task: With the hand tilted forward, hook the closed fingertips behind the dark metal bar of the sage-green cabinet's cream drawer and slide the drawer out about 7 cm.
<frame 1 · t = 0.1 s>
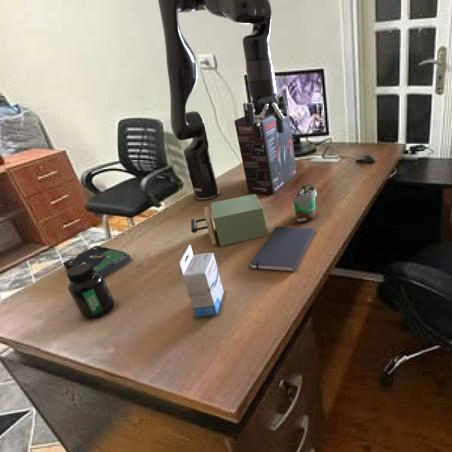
hand: (270, 136, 104), 29 cm above the table, tool pointing down, fingers open, 8 cm apart
notebook: (284, 249, 103), on the table
supplement bottle: (99, 311, 84), on the table
drawer: (222, 222, 111), point 5 cm above the table, slide at 1.0 cm
disk drive: (100, 266, 102), on the table
food container: (309, 217, 121), on the table
cabinet: (241, 232, 114), on the table
headset box: (273, 183, 152), on the table
ink box: (211, 305, 83), on the table
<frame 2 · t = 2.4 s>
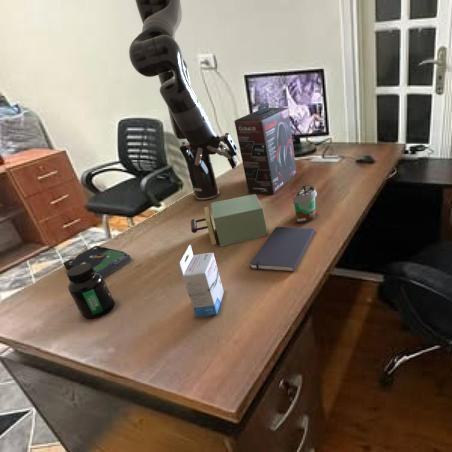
hand: (220, 169, 101), 22 cm above the table, tool tilted 20°, fingers open, 8 cm apart
nothing on the table moved.
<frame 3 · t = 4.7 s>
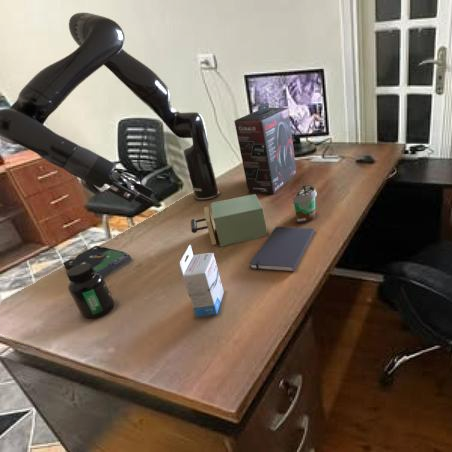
hand: (151, 198, 99), 17 cm above the table, tool tilted 45°, fingers open, 8 cm apart
nothing on the table moved.
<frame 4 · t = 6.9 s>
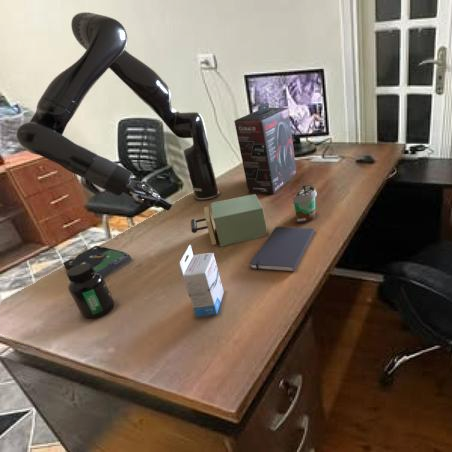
hand: (170, 207, 103), 13 cm above the table, tool tilted 45°, fingers closed
nothing on the table moved.
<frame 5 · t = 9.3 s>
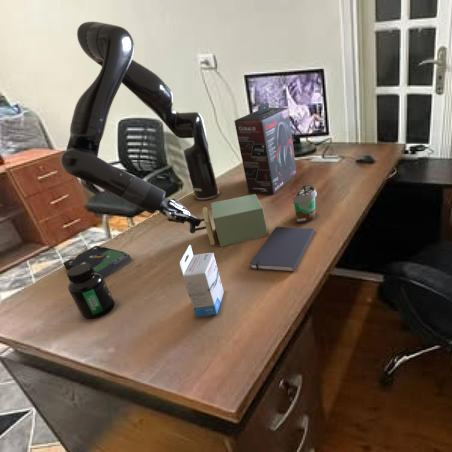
hand: (199, 223, 108), 6 cm above the table, tool tilted 45°, fingers closed
drawer: (220, 222, 110), point 5 cm above the table, slide at 1.4 cm, touching gripper
everything else where it was.
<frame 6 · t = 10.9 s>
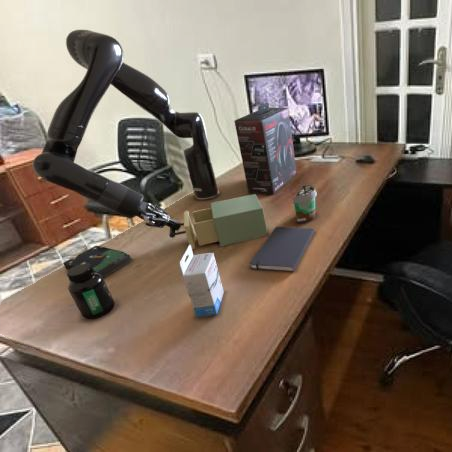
hand: (179, 227, 106), 6 cm above the table, tool tilted 45°, fingers closed
drawer: (201, 226, 109), point 5 cm above the table, slide at 7.2 cm, touching gripper
everything else where it was.
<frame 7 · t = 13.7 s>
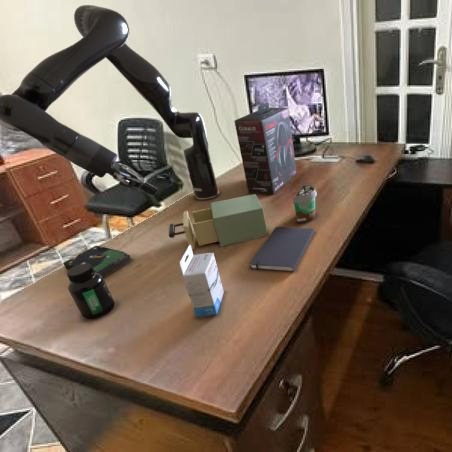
hand: (155, 191, 100), 18 cm above the table, tool tilted 40°, fingers closed
drawer: (201, 227, 109), point 5 cm above the table, slide at 7.4 cm
everything else where it was.
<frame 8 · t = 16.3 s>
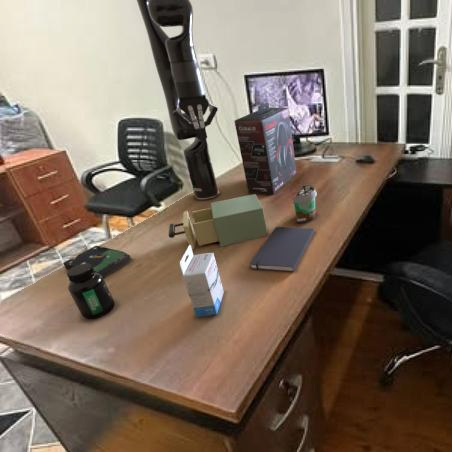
hand: (203, 140, 106), 29 cm above the table, tool pointing down, fingers closed
nothing on the table moved.
at the end: drawer slide at 7.4 cm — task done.
